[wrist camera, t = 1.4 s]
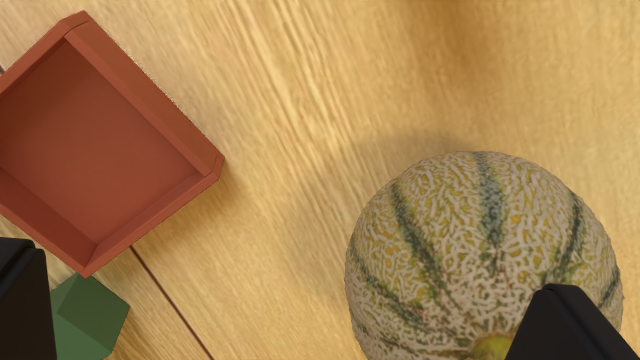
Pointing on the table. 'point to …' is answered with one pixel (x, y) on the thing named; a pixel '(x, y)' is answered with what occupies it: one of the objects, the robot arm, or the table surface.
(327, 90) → the table surface
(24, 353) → the robot arm
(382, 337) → the cantaloupe
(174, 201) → the terracotta tray
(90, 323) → the green block
